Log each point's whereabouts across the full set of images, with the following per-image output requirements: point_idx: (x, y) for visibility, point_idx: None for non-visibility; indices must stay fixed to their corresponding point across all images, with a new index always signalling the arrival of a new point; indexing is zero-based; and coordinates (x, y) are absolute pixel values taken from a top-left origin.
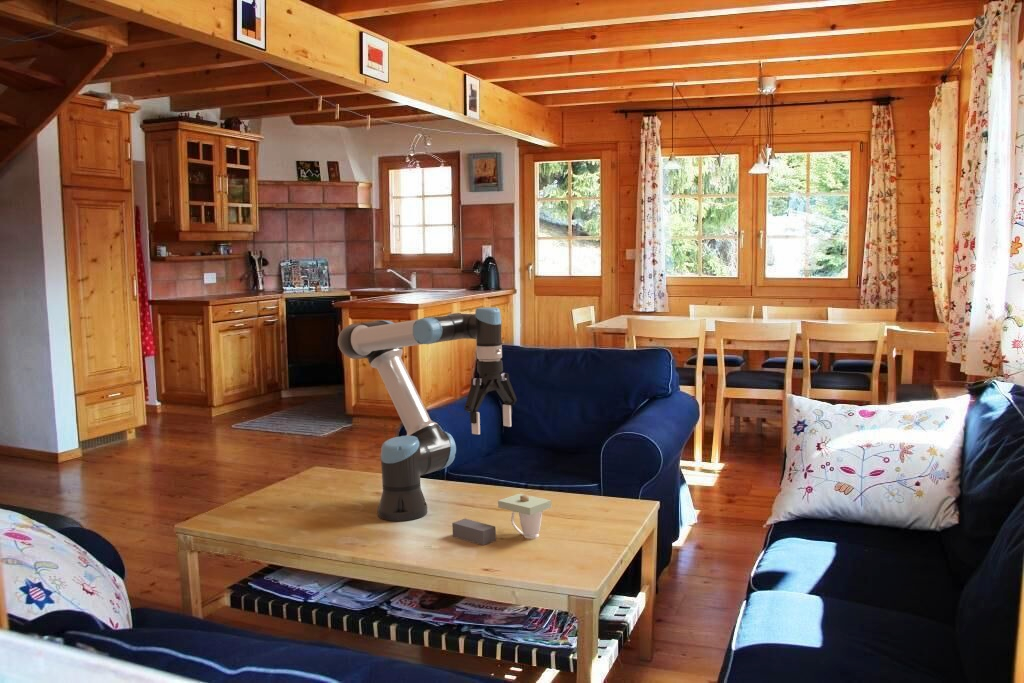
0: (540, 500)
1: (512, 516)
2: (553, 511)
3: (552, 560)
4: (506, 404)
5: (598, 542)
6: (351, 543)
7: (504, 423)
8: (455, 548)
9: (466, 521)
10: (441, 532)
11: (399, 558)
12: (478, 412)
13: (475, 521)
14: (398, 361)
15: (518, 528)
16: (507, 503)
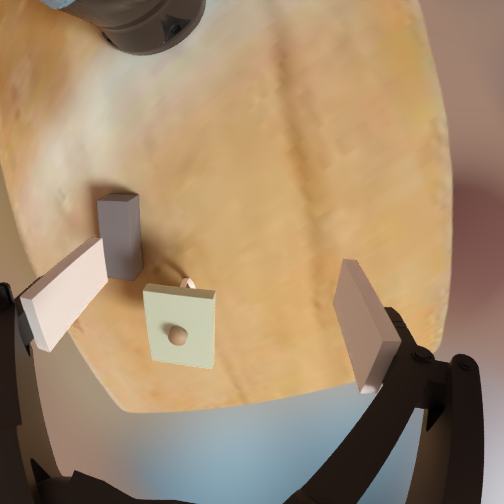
0: (199, 355)
1: (181, 286)
2: (341, 260)
3: (145, 365)
4: (392, 362)
5: (236, 382)
6: (15, 92)
7: (344, 274)
8: (81, 237)
9: (117, 217)
10: (112, 158)
11: (19, 200)
12: (43, 348)
13: (128, 232)
14: None
15: (192, 283)
16: (146, 313)
